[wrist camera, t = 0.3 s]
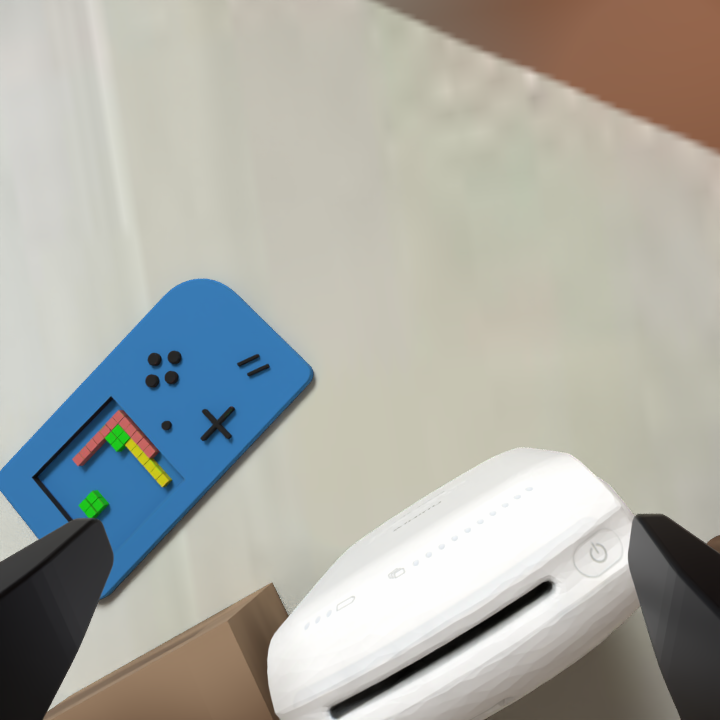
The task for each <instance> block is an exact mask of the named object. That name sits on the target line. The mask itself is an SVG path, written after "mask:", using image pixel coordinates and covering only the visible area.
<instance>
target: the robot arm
mask: <svg viewBox="0 0 720 720" xmlns="http://www.w3.org/2000/svg"><path fill="white" fill-rule="evenodd" d="M113 562H114V554H113V550H112V547H111V545H110V542H109V539H108V536H107V534H106V531H105V528H104V526H103V523H102V522H101V521H100V520H99V519H96V518H77V519H74V520H72V521H70V522H68V523H66V524H65V525H63V526H61V527H59V528H58V529H56V530H54V531H53V532H51V533H49V534H47V535H46V536H44V537H42V538H41V539H39V540H37V541H35V542H34V543H32V544H30V545H29V546H27V547H25V548H23V549H22V550H20V551H18V552H17V553H15V554H13V555H11V556H10V557H8V558H6V559H5V560H3V561H1V562H0V720H43V718H44V716H45V715H46V713H47V711H48V709H49V707H50V705H51V703H52V701H53V699H54V697H55V695H56V693H57V691H58V689H59V687H60V685H61V684H62V682H63V680H64V678H65V676H66V674H67V672H68V670H69V668H70V666H71V664H72V662H73V660H74V658H75V656H76V654H77V652H78V650H79V647H80V645H81V643H82V640H83V638H84V636H85V633H86V631H87V629H88V626H89V624H90V621H91V619H92V616H93V614H94V611H95V609H96V606H97V604H98V601H99V599H100V596H101V594H102V592H103V589H104V587H105V584H106V582H107V579H108V577H109V574H110V572H111V569H112V566H113ZM628 565H629V570H630V573H631V576H632V580H633V583H634V586H635V590H636V593H637V596H638V600H639V603H640V606H641V609H642V613H643V616H644V619H645V623H646V626H647V629H648V633H649V636H650V639H651V642H652V646H653V649H654V652H655V655H656V658H657V661H658V664H659V667H660V670H661V673H662V675H663V678H664V680H665V683H666V685H667V687H668V690H669V692H670V695H671V697H672V699H673V702H674V704H675V706H676V709H677V711H678V713H679V716H680V718H681V720H720V553H719V552H717V551H716V550H715V549H713V548H712V547H710V546H709V545H707V544H706V543H705V542H703V541H702V540H700V539H699V538H697V537H696V536H694V535H693V534H692V533H690V532H689V531H687V530H686V529H684V528H683V527H682V526H680V525H679V524H677V523H676V522H674V521H673V520H671V519H670V518H669V517H667V516H665V515H663V514H637V515H636V516H634V518H633V520H632V526H631V534H630V541H629V549H628Z"/></svg>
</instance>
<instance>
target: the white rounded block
mask: <svg viewBox="0 0 720 720" xmlns="http://www.w3.org/2000/svg"><path fill="white" fill-rule="evenodd" d="M633 518H634V514H633V513H632V512H631V510H630V509H629V507H628V506H627V505H626V503H625V502H624V501H623V500H622V499H621V497H620V496H619V495H618V494H617V493H616V491H615V490H614V489H613V488H612V487H611V486H610V485H609V484H608V483H607V482H605V481H604V480H602V479H601V478H599V477H598V476H596V475H594V474H593V473H592V472H591V471H590V470H589V469H588V468H587V467H586V466H585V465H584V464H583V463H582V462H581V461H580V460H578V459H577V458H575V457H574V456H572V455H571V454H569V453H565V452H557V451H552V450H543V449H535V448H527V447H518V448H515V449H512V450H509V451H506V452H504V453H501V454H499V455H496V456H494V457H492V458H490V459H488V460H486V461H484V462H483V463H481V464H479V465H477V466H475V467H474V468H472V469H470V470H469V471H467V472H465V473H463V474H462V475H460V476H458V477H457V478H455V479H453V480H451V481H450V482H448V483H446V484H445V485H443V486H441V487H440V488H438V489H436V490H435V491H433V492H432V493H430V494H428V495H427V496H425V497H424V498H422V499H420V500H419V501H417V502H416V503H414V504H413V505H411V506H409V507H408V508H406V509H405V510H403V511H402V512H400V513H399V514H397V515H395V516H394V517H392V518H391V519H389V520H388V521H386V522H385V523H383V524H382V525H381V526H379V527H378V528H376V529H375V530H373V531H372V532H370V533H369V534H367V535H366V536H364V537H363V538H362V539H360V540H359V541H357V542H356V543H355V544H354V545H352V546H351V547H350V548H349V549H347V550H346V551H345V552H344V553H343V554H342V555H341V556H340V557H339V558H338V559H337V560H336V561H335V563H334V564H333V565H332V566H331V567H330V568H329V569H328V571H327V572H326V573H325V574H324V575H323V576H322V577H321V579H320V580H319V581H318V582H317V583H316V584H315V586H314V587H313V588H312V589H311V590H310V592H309V593H308V594H307V595H306V596H305V597H304V599H303V600H302V601H301V602H300V603H299V605H298V606H297V607H296V608H295V609H294V611H293V612H292V613H291V614H290V616H289V617H288V618H287V619H286V620H285V621H284V623H283V624H282V625H281V626H280V627H279V629H278V630H277V631H276V632H275V634H274V636H273V637H272V639H271V642H270V645H269V649H268V658H267V666H268V668H267V674H268V685H269V690H270V695H271V699H272V703H273V707H274V711H275V714H276V715H277V716H278V717H279V719H280V720H484V719H486V718H488V717H489V716H491V715H493V714H495V713H497V712H498V711H500V710H502V709H503V708H505V707H507V706H509V705H510V704H512V703H514V702H515V701H517V700H519V699H520V698H522V697H523V696H525V695H527V694H528V693H530V692H531V691H533V690H535V689H536V688H538V687H539V686H540V685H542V684H544V683H546V682H547V681H548V680H550V679H552V678H553V677H554V676H556V675H557V674H559V673H560V672H562V671H563V670H565V669H566V668H567V667H569V666H570V665H572V664H574V663H575V662H576V661H578V660H579V659H580V658H582V657H583V656H584V655H586V654H587V653H588V652H590V651H591V650H592V649H594V648H595V647H596V646H597V645H599V644H600V643H601V642H603V641H604V640H605V639H606V638H607V637H608V636H609V635H610V633H612V632H613V631H614V630H615V629H617V628H618V627H619V626H620V625H621V624H622V623H624V622H625V621H626V620H627V619H628V618H629V617H630V616H631V615H632V614H633V613H634V612H635V611H636V610H637V609H638V608H639V607H640V603H639V600H638V596H637V593H636V590H635V586H634V583H633V580H632V576H631V573H630V570H629V565H628V549H629V541H630V534H631V526H632V520H633Z"/></svg>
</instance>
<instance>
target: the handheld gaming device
mask: <svg viewBox="0 0 720 720" xmlns="http://www.w3.org/2000/svg"><path fill="white" fill-rule="evenodd" d="M312 378H313V370H312V368H311V366H310V365H309V364H308V363H307V362H306V361H305V360H304V359H303V358H302V357H301V356H300V355H299V354H298V353H297V352H296V351H295V350H294V349H293V348H291V347H290V346H289V345H288V344H287V343H286V342H285V341H284V340H283V339H282V338H281V337H280V336H279V335H278V334H277V333H276V332H275V331H274V330H273V329H272V328H271V327H270V326H269V325H268V324H267V323H266V322H265V321H264V320H263V319H262V318H261V317H260V316H259V315H258V314H257V313H256V312H255V311H254V310H253V309H252V308H251V307H250V306H249V305H248V304H247V303H246V302H245V301H244V300H243V299H241V298H240V297H239V296H238V295H237V294H236V293H235V292H234V291H233V290H232V289H230V288H229V287H227V286H226V285H224V284H222V283H220V282H217V281H215V280H210V279H193V280H189V281H186V282H183V283H181V284H179V285H177V286H176V287H174V288H173V289H171V290H170V291H169V292H168V293H167V294H166V295H165V296H164V297H163V298H162V299H161V300H160V301H159V302H158V303H157V304H156V305H155V306H154V307H153V308H152V309H151V310H150V312H149V313H148V314H147V315H146V316H145V317H144V318H143V319H142V320H141V321H140V322H139V323H138V324H137V325H136V326H135V328H134V329H133V330H132V331H131V332H130V333H129V334H128V335H127V336H126V337H125V338H124V339H123V340H122V341H121V342H120V344H119V345H118V346H117V347H116V348H115V349H114V350H113V351H112V352H111V353H110V354H109V355H108V356H107V357H106V358H105V360H104V361H103V362H102V363H101V364H100V365H99V366H98V367H97V368H96V369H95V370H94V371H93V372H92V373H91V374H90V376H89V377H88V378H87V379H86V380H85V381H84V382H83V383H82V384H81V385H80V386H79V387H78V388H77V389H76V390H75V392H74V393H73V394H72V395H71V396H70V397H69V398H68V399H67V400H66V401H65V402H64V403H63V404H62V405H61V406H60V408H59V409H58V410H57V411H56V412H55V413H54V414H53V415H52V416H51V417H50V418H49V419H48V420H47V421H46V422H45V423H44V425H43V426H42V427H41V428H40V429H39V430H38V431H37V432H36V433H35V434H34V435H33V436H32V437H31V438H30V439H29V441H28V442H27V443H26V444H25V445H24V446H23V447H22V448H21V449H20V450H19V451H18V452H17V453H16V454H15V455H14V457H13V458H12V459H11V460H10V461H9V462H8V463H7V464H6V465H5V466H4V467H3V468H2V470H1V471H0V491H1V492H2V493H3V495H4V496H5V497H6V498H7V500H8V501H9V502H10V503H11V505H12V506H13V507H14V509H15V510H16V511H17V512H18V514H19V515H20V516H21V517H22V519H23V520H24V521H25V522H26V524H27V525H28V526H29V527H30V529H31V530H32V531H33V533H34V534H35V535H36V536H37V538H38V539H41V538H42V537H44V536H46V535H47V534H49V533H51V532H53V531H54V530H56V529H58V528H59V527H61V526H63V525H65V524H66V523H68V522H70V521H72V520H74V519H77V518H96V519H99V520H100V521H101V522H102V523H103V526H104V528H105V531H106V534H107V536H108V539H109V542H110V545H111V547H112V550H113V554H114V562H113V566H112V569H111V572H110V574H109V577H108V579H107V582H106V584H105V587H104V589H103V592H102V594H101V596H100V599H102V598H105V597H107V596H108V595H110V594H111V593H112V592H113V591H114V590H115V589H116V588H117V587H118V586H119V584H120V583H121V582H122V581H123V580H124V579H125V578H126V577H127V576H128V575H129V574H130V573H131V572H132V571H133V570H134V569H135V568H136V566H137V565H138V564H139V563H140V562H141V561H142V560H143V559H144V558H145V557H146V556H147V555H148V554H149V553H150V552H151V551H152V550H153V548H154V547H155V546H156V545H157V544H158V543H159V542H160V541H161V540H162V539H163V538H164V537H165V536H166V535H167V534H168V533H169V532H170V530H171V529H172V528H173V527H174V526H175V525H176V524H177V523H178V522H179V521H180V520H181V519H182V518H183V517H184V516H185V515H186V514H187V513H188V511H189V510H190V509H191V508H192V507H193V506H194V505H195V504H196V503H197V502H198V501H199V500H200V499H201V498H202V497H203V496H204V495H205V493H206V492H207V491H208V490H209V489H210V488H211V487H212V486H213V485H214V484H215V483H216V482H217V481H218V480H219V479H220V478H221V477H222V475H223V474H224V473H225V472H226V471H227V470H228V469H229V468H230V467H231V466H232V465H233V464H234V463H235V462H236V461H237V460H238V459H239V457H240V456H241V455H242V454H243V453H244V452H245V451H246V450H247V449H248V448H249V447H250V446H251V445H252V444H253V443H254V442H255V441H256V439H257V438H258V437H259V436H260V435H261V434H262V433H263V432H264V431H265V430H266V429H267V428H268V427H269V426H270V425H271V424H272V423H273V421H274V420H275V419H276V418H277V417H278V416H279V415H280V414H281V413H282V412H283V411H284V410H285V409H286V408H287V407H288V406H289V405H290V403H291V402H292V401H293V400H294V399H295V398H296V397H297V396H298V395H299V394H300V393H301V392H302V391H303V390H304V389H305V388H306V387H307V385H308V384H309V383H310V382H311V381H312ZM100 599H99V600H100Z"/></svg>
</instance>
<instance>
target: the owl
mask: <svg viewBox="0 0 720 720" xmlns="http://www.w3.org/2000/svg"><path fill="white" fill-rule="evenodd" d="M707 545H709V546H710V547H712V548H713V549H715V550H716V551H717V552H719V553H720V535H719V536H716V537H714V538H713V539H711V540H710V541H709V542H708V543H707Z"/></svg>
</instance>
